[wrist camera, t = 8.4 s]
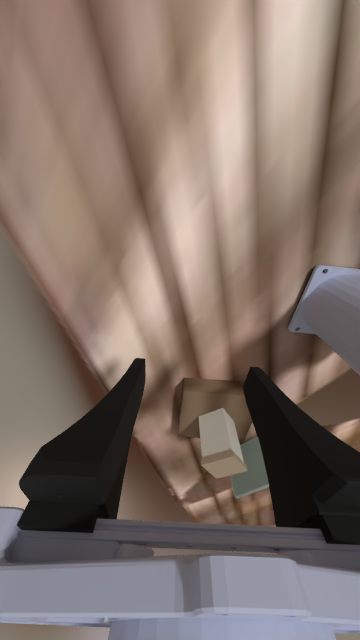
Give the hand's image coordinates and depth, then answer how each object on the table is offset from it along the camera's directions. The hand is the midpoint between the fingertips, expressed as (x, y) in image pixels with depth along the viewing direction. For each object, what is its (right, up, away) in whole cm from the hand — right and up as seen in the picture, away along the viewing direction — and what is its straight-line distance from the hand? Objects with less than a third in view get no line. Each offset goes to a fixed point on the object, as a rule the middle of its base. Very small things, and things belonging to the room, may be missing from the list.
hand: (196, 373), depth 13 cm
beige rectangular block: (+4, -11, +16) cm, 20 cm away
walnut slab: (+4, -10, +18) cm, 21 cm away
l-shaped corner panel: (+17, -22, +26) cm, 38 cm away
